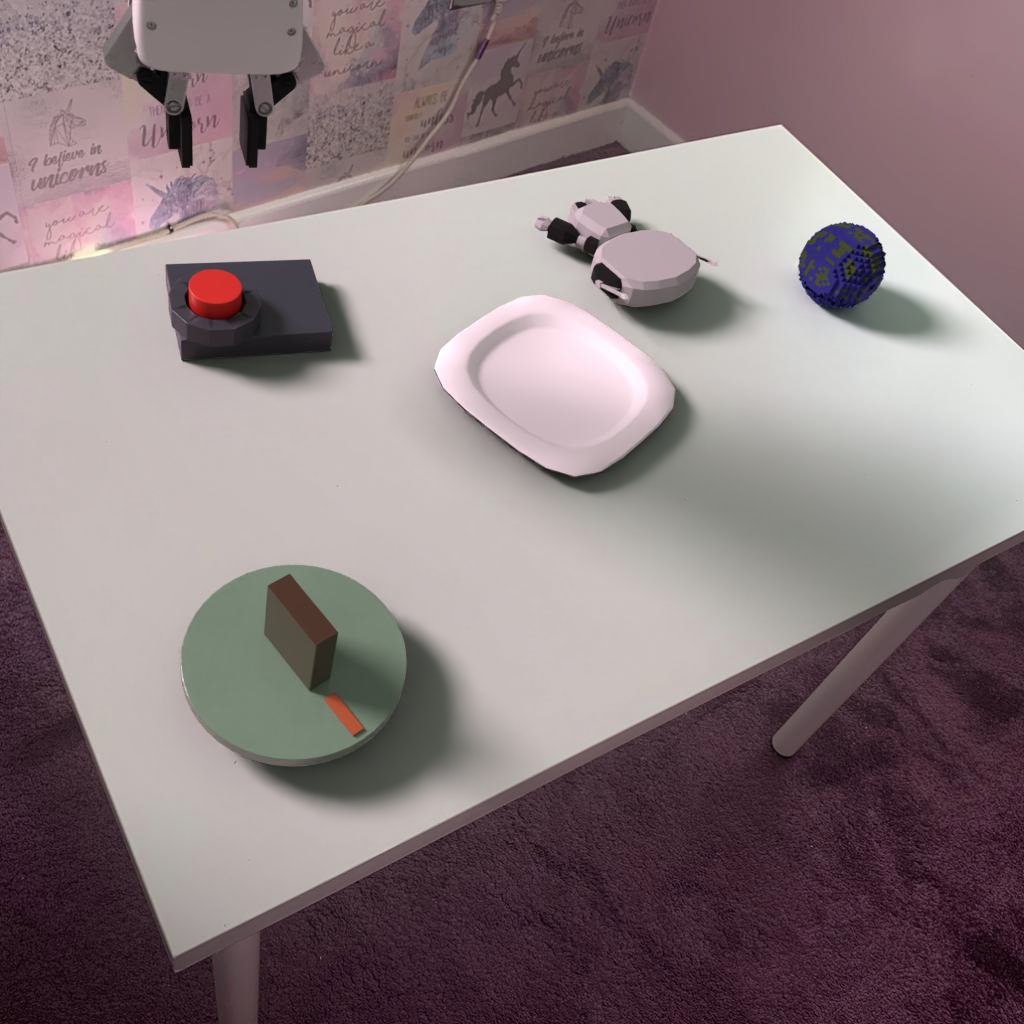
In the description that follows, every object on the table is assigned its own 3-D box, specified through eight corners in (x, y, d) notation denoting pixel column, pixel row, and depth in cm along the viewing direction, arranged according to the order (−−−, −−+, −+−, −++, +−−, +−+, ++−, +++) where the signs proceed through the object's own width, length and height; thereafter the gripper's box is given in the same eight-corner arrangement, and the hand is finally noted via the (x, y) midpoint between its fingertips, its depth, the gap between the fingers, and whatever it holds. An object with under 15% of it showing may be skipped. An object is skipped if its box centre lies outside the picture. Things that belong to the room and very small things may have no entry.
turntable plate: (137, 638, 66) (131, 579, 61) (321, 540, 74) (330, 481, 69) (264, 812, 61) (269, 763, 56) (448, 688, 69) (467, 636, 64)
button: (192, 322, 82) (192, 305, 80) (185, 287, 84) (185, 269, 82) (245, 319, 83) (246, 302, 82) (236, 284, 85) (237, 267, 84)
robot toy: (520, 245, 104) (619, 335, 97) (528, 205, 100) (632, 295, 94) (611, 217, 110) (710, 299, 103) (622, 178, 107) (725, 261, 100)
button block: (177, 370, 83) (175, 332, 80) (160, 284, 88) (158, 246, 85) (333, 359, 88) (338, 323, 84) (308, 278, 93) (312, 242, 90)
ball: (772, 281, 108) (804, 220, 102) (815, 259, 112) (849, 200, 106) (831, 329, 105) (867, 270, 99) (873, 306, 109) (911, 247, 103)
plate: (692, 402, 94) (699, 389, 93) (573, 508, 83) (579, 495, 82) (537, 290, 99) (541, 276, 97) (406, 377, 88) (409, 363, 87)
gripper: (349, -143, 64) (323, 125, 78) (51, -174, 58) (82, 122, 72) (379, -82, 60) (346, 188, 74) (63, -109, 54) (93, 191, 68)
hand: (216, 153), depth 73 cm, fingers open, 3 cm apart
